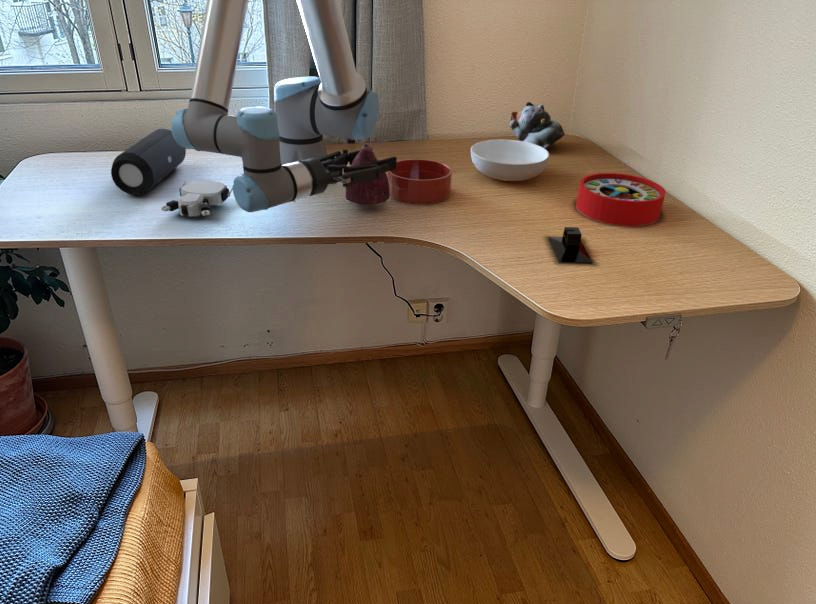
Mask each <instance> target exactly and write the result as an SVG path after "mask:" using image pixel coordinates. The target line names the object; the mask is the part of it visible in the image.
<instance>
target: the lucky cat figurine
mask: <svg viewBox="0 0 816 604" xmlns="http://www.w3.org/2000/svg"><path fill="white" fill-rule="evenodd" d="M510 114H511V116H510V122H509V128H510V129H511V132H512V133H513V134H514V135H515V137H516V138H517V139H518V141H523V142H528V143H532V144H535V145H538V146H540V147H542V148H544V149H546V150H547V149H548V148H549V147H550V146H552V144H554V143H556V142H557V141H559V140H561V139H562V138H564V136H565V135H566V133H565V131H564V129H563V126H562V125H561V123H559V122H558V121H555V120H551V119H552V117H551V115H550V114H549V112H548V111H547V110H546V109H545V106H544V104H541V103H539V105H537V106H536V105H534V104H533V103H532V102H530V101H528V102H526V104H525V106H523V107H522V108H521V109H520V110H519V111H511V112H510Z"/></svg>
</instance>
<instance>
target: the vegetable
mask: <svg viewBox="0 0 816 604" xmlns="http://www.w3.org/2000/svg"><path fill="white" fill-rule="evenodd" d="M371 148H372V147H371V146H370V145H368V144H367V143H365V142H364V143H363V146H362V147H361V148H360V149H359V150H360V152H359V153H358V154H357V156H356V157H355V159H354V160H353V162H352V164H351V165H350V166H358V165H369V164H373V162H375V161H379V159H378V158H377V156H376V154H375V152H374V151H372V149H371ZM344 193H345V194H344V198H345V200H346V201H348V202H349V203H352V204H356V205H359V206H364V207H365V206H375V205H380V204H384V203H385V202H387V201H388V200H389V199H390V197H391V196H390V194H389V182H388V177H387V174H386V172H384V173H381V176H380V179H377V180H372V181H367V182H362V183H358V184H353V185H350V186H348V187H345V192H344Z"/></svg>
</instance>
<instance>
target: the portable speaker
mask: <svg viewBox="0 0 816 604" xmlns="http://www.w3.org/2000/svg"><path fill="white" fill-rule="evenodd" d="M186 155H187V148H185V147H182V146H181V145H179V144H178V143H177V142H176V141H175V139H174V137H173V134H172V129H168V128H158V129H156V130H154V131H152V132H150V133H149V134H147V135H146V136H144V138H141V139H140V140H139V141H137V142H136V143H134V144H133V145H131V146H130V147H129V148H126V149H125V150H124V151H122V152H121V153H120V154H118V155H117V156H116V157H115V158H114V160H113V162H112V165H111V170H110V174H111V179H112V181H113V184H114V185H115V186H116V187H117V188H118V189H119V190H120V191H122V192H124V193H126V194H128V195H143V194H146V193H147V192H149V191H150V190H151V189H153V188H154V187H155V186H156V185H157V184H159V182H161V181H162V180H163V179H164V178H165V177H167V176H168V175H169V174H170V173H171V172H173V171H174V170H175V169H176V168H177V167H178V166H180V165H181V164H183V162H184V160H185V159H186Z"/></svg>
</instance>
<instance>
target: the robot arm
mask: <svg viewBox="0 0 816 604" xmlns="http://www.w3.org/2000/svg"><path fill="white" fill-rule="evenodd" d="M249 1H250V0H207V1H206V7H205V12H204V18H203V22H202V23H203V24H202V30H201V35H200V40H199V47H198V51H197V58H196V63H195V67H194V68H195V69H194V74H193V80H192V85H191V90H190V91H191V92H190V97H189V101H188V107H187V108H181V109H179V110H177V111H176V112H175V115H174V116H172V119H171V126H170V127H171V130H172V134H173V137H174V139H175V141H176V142H177V143H178V144H179V145H181V146H182V147H185V148H186V149H190V150H194V151H196V152H207V153H212V154H213V153H214V154H220V155H221V154H222V155H225V156H233V157H238V158H241V160H242V168H243V169H242V170H243V173H241V174H240V175H238V176H236V177H235V178H234V179H233V182H232V183H233V185H232V187H233V190H232V193H233V197H234V200H235V201H236V204H237V205H238V206H239V208H240V209H242V210H243V211H245V212H246V213H254V212H261V211H263V210H264V211H266V210H269V209H271V208H274V207H277V206H281V205H284V204H288V203H291V202H292V203H295V202H297V201H299V200H302V199H305V198H308V197H313V196H316V195H321V194H323V193H325V192H326V190H327V188H328V187H329V185H335V184H336V185H337V183H341V184H342V188H346V187H348V186H350V185H353V184H358V183H362V182H367V181H372V180H377V179H380V176H381V173H384V172H387V171H391V170H394V169H396V165H397V161H398V157H397V156H390V157H386V158H383V159H380V160H379V159H378V161H375V162H373V164H369V165H358V166H351V164H352V162H353V160H354V159H355V157H356V156H357V154H358V153H359V152H360V150H361V149H359V150H355V151H351V152H349V149H342V152H341V151H339V150H337V151H334V152H331V153H329V154H328V151H327V149H326V146H325V143H324V136H326V137H333V138H339V139H346V140H352V141H367V140H368V139H369V138H371V136H372V135H373V133H374V131H375V129H376V126H377V123H378V118H379V114H380V113H379V112H380V97H379V95H378V93H377V92H376V91H373V90H368V88H367V85H366V81H365V79H364V78H363V77H362V75H360V74H358V73H357V69H356V65H355V61H354V57H353V56H354V55H353V52H352V49H351V48H352V47H351V44H350V39H349V35H348V32H347V27H346V24H345V19H344V15H343V11H342V6H341V2H340V0H296V3H297V6H298V9H299V12H300V16H301V19H302V23H303V26H304V29H305V33H306V35H307V39H308V43H309V47H310V50H311V53H312V57H313V61H314V64H315V66H316V70H317V73H318V76H312V75H311V76H310V75H309V76H308V75H307V76H298V77H297V76H296V77H290V78H286V79H282V80H280V81H278V82H277V83H276V84H275V85H274V88H273V96H274V97H273V103H274V110H273V109H271V108H270V107H266V106H247V107H243V108H240V109H239V110H238V111H237V114H236V115H229V110H230V109H229V108H230V102H231V98H232V92H233V86H234V82H235V77H236V71H237V65H238V61H239V60H238V59H239V55H240V49H241V43H242V38H243V33H244V28H245V22H246V19H247V18H246V16H247V12H248V6H249ZM371 149H372V151H373V150H374V149H373V147H371ZM373 152H374V151H373ZM348 165H350V166H348Z"/></svg>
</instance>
